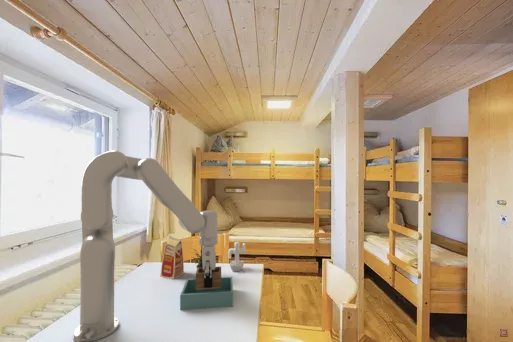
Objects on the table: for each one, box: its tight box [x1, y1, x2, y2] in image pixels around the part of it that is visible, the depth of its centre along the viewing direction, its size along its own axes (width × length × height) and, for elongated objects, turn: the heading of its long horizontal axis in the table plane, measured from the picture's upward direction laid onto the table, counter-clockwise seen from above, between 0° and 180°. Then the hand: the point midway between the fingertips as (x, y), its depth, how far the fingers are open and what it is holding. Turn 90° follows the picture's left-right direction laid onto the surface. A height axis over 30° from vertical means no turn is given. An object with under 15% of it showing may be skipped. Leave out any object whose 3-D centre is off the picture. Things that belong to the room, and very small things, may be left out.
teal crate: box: [179, 276, 234, 311], centre depth 104 cm, size 15×20×6 cm
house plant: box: [190, 246, 203, 269], centre depth 126 cm, size 14×14×16 cm
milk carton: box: [159, 235, 185, 280], centre depth 129 cm, size 9×9×20 cm
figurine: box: [227, 241, 247, 272], centre depth 136 cm, size 7×9×15 cm
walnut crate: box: [195, 266, 222, 290], centre depth 104 cm, size 7×10×6 cm, turn 97°
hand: (208, 283), depth 104 cm, fingers closed on walnut crate, 6 cm apart
